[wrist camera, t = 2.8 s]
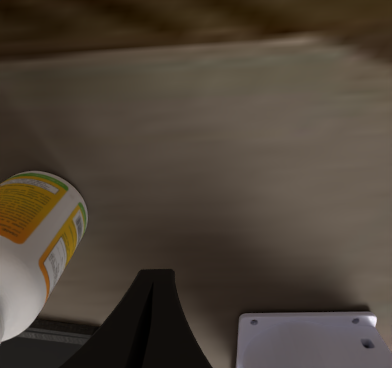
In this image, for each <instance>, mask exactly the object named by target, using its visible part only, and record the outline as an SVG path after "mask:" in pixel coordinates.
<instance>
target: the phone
mask: <svg viewBox="0 0 392 368" xmlns="http://www.w3.org/2000/svg"><path fill="white" fill-rule="evenodd" d="M98 328H99V327H93V326H85V325H77V324H69V323H62V322H54V321H46V320H38V319H35V320H34V321H33V322H32V324H31V325H30V326H29V327H28V328H26V329H25V330H24V331H23V332H21V333H20V334H18V335H17V336H15V337H13V338H11V339H8V340H5V341H2V342H1V344H0V368H59V367H60V366H61V365H62V364H63V363H64V362H66V361H67V360H68V359H69V358H70V357H71V356H72V355H73V354H74V353H75V352H76V351H77V350H78V349H79V348H80V347H81V346H83V345H84V344H85V343H86V341H87V340H88V339H89V338H90V337H91V336H92V335H93V334H94V333H95V332H96V331H97V330H98Z"/></svg>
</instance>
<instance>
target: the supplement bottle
mask: <svg viewBox="0 0 392 368" xmlns="http://www.w3.org/2000/svg"><path fill="white" fill-rule="evenodd" d="M87 223H88V212H87V207H86V204H85V202H84V200H83V198H82V196H81V195H80V193H79V192H78V191H77V190H76V189H75V188H74V187H73V186H72V185H71V184H70V183H68V182H67V181H65V180H64V179H62V178H60V177H58V176H56V175H53V174H51V173H47V172H42V171H27V172H22V173H19V174H16V175H14V176H12V177H10V178H8V179H7V180H5V181H4V182H2V183H1V184H0V344H1V342H2V341H5V340H8V339H11V338H13V337H15V336H17V335H18V334H20V333H21V332H23V331H24V330H25V329H26V328H28V327H29V326H30V325H31V324H32V322H33V321H34V320H35V318H36V317H37V315H38V314H39V312H40V311H41V309H42V308H43V306H44V304H45V302H46V301H47V299H48V297H49V295H50V293H51V292H52V290H53V288H54V286H55V285H56V283H57V281H58V279H59V278H60V276H61V274H62V272H63V271H64V269H65V267H66V265H67V264H68V262H69V260H70V258H71V257H72V255H73V253H74V251H75V249H76V248H77V246H78V244H79V242H80V241H81V239H82V237H83V235H84V232H85V230H86V227H87Z"/></svg>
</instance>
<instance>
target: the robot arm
mask: <svg viewBox="0 0 392 368" xmlns="http://www.w3.org/2000/svg"><path fill="white" fill-rule="evenodd" d="M252 320H255V321H252ZM376 321H377V318H376V316H375V315H374V313H372V312H302V313H245V314H242V315H241V316H240V317H239V325H238V342H237V358H236V368H392V353H391V351H390V349H389V348H388V346H387V345H386V343H385V342H384V340H383V339H382V337H381V336H380V334H379V333H378V331H377V329H376V328H375V325H376ZM59 368H212V366H211V365H210V363H209V362H208V360H207V358H206V357H205V355H204V354H203V352H202V350H201V348H200V347H199V345H198V343H197V341H196V339H195V337H194V335H193V333H192V331H191V329H190V327H189V325H188V322H187V320H186V317H185V315H184V312H183V310H182V307H181V304H180V301H179V298H178V294H177V290H176V285H175V272H174V271H173V270H172V269H146V270H140V271H139V273H138V274H137V276H136V278H135V280H134V281H133V283H132V284H131V286H130V288H129V289H128V291H127V292H126V294H125V295H124V296H123V298H122V299H121V301H120V302H119V304H118V305H117V306H116V308H115V309H114V310H113V311H112V313H111V314H110V315H109V316H108V318H107V319H106V320H105V321H104V323H103V324H102V325H101V326H100V327H99V328H98V330H97V331H96V332H95V333H94V334H93V335H92V336H91V337H90V338H89V339H88V340H87V341H86V343H85V344H84V345H83V346H81V347H80V348H79V349H78V350H77V351H76V352H75V353H74V354H73V355H72V356H71V357H70V358H69V359H68V360H67V361H66V362H64V363H63V364H62V365H61V366H60V367H59Z"/></svg>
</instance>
